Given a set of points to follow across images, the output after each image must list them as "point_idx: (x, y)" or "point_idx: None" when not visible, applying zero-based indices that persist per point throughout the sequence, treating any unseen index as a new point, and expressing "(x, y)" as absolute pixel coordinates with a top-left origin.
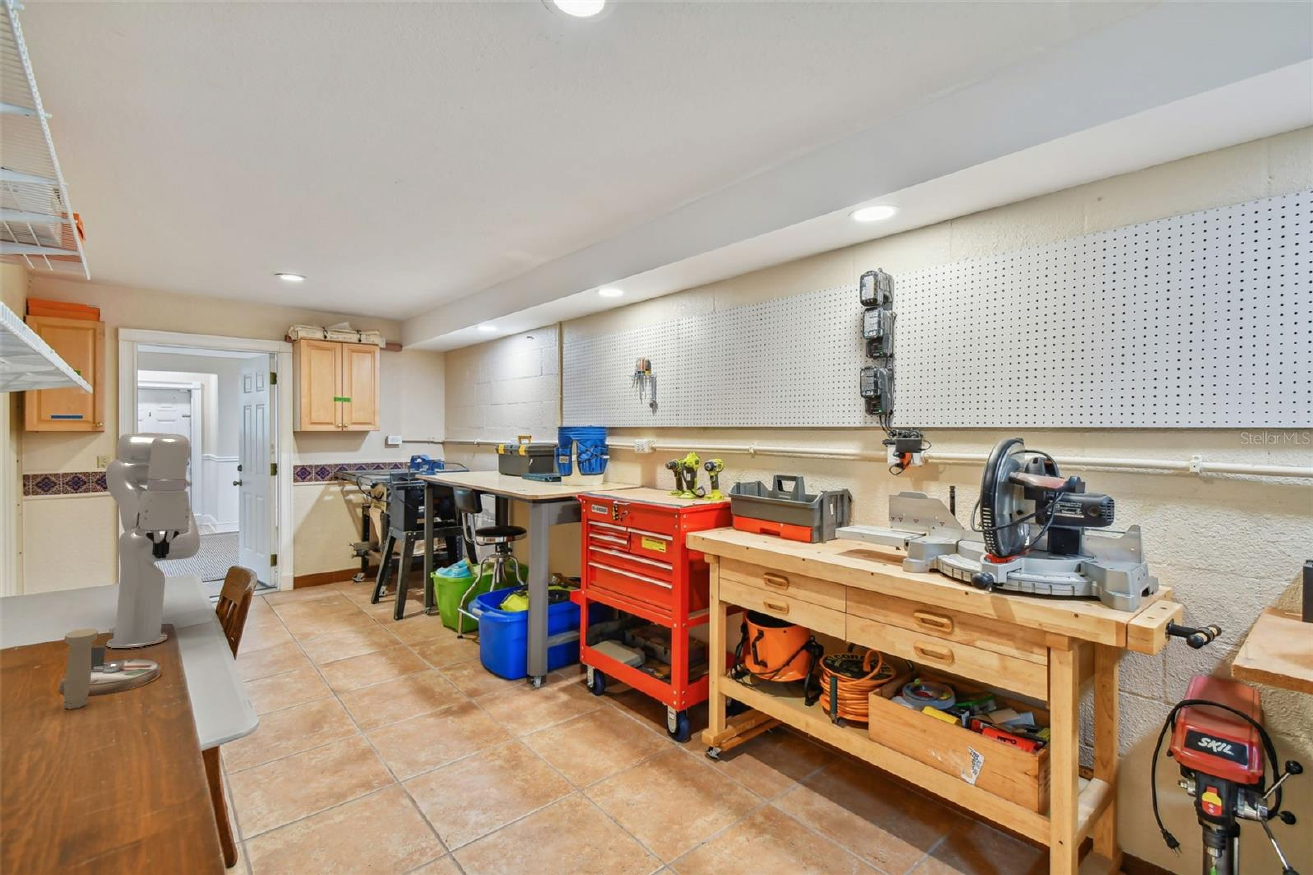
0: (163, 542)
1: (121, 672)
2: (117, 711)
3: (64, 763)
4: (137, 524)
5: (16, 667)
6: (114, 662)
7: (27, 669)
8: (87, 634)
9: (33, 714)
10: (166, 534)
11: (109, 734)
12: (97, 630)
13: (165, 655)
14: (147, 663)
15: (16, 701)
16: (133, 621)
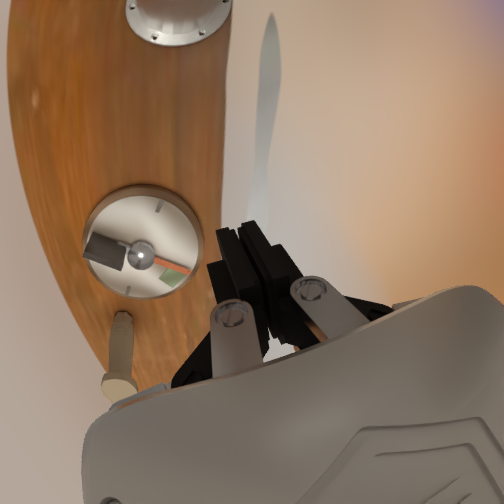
0: (278, 324)
1: (153, 264)
2: (166, 343)
3: None
4: (90, 451)
5: (13, 93)
6: (140, 253)
7: (25, 111)
8: None
9: (91, 319)
10: (325, 328)
11: (170, 380)
12: (135, 389)
13: (213, 125)
14: (184, 234)
15: (56, 270)
16: (163, 20)
